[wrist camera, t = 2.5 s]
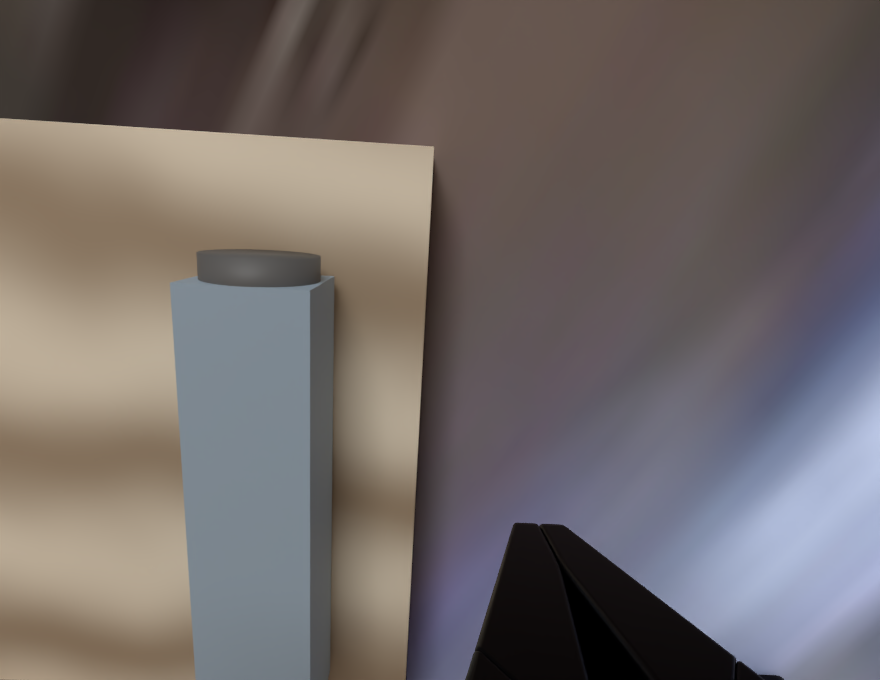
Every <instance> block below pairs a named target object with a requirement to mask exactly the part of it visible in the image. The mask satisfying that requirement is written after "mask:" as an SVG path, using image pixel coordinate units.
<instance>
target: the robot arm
mask: <svg viewBox="0 0 880 680" xmlns="http://www.w3.org/2000/svg"><path fill="white" fill-rule="evenodd" d="M465 680H784V679H783V678H782V677H780V676H776V675H758V674H757V673H755V672H754V671H753V670H751V669H750V668H749V667H747V666H746V665H745V664H744V663H742V662H740V661H738V662H737V663H736V658H735V657H734V656H733V655H732V654H730V653H729V652H728V651H726V650H725V649H724V648H723V647H721V646H720V645H719V644H717V643H716V642H715V641H713V640H712V639H711V638H710V637H708V636H707V635H706V634H704V633H703V632H702V631H700V630H699V629H698V628H697V627H695V626H694V625H693V624H691V623H690V622H689V621H688V620H686V619H685V618H684V617H682V616H681V615H680V614H678V613H677V612H676V611H675V610H673V609H672V608H671V607H669V606H668V605H667V604H665V603H664V602H663V601H662V600H660V599H659V598H658V597H656V596H655V595H654V594H652V593H651V592H650V591H649V590H647V589H646V588H645V587H643V586H642V585H641V584H640V583H638V582H637V581H636V580H634V579H633V578H632V577H630V576H629V575H628V574H627V573H625V572H624V571H623V570H621V569H620V568H619V567H617V566H616V565H615V564H614V563H612V562H611V561H610V560H608V559H607V558H606V557H604V556H603V555H602V554H601V553H599V552H598V551H597V550H595V549H594V548H593V547H592V546H590V545H589V544H588V543H586V542H585V541H584V540H582V539H581V538H580V537H579V536H577V535H576V534H575V533H573V532H572V531H571V530H569V529H568V528H567V527H565V526H564V525H557V524H541V525H540V526H538V525H537V524H534V523H515V524H514V525H513V528H512V531H511V534H510V537H509V541H508V544H507V547H506V550H505V554H504V557H503V560H502V563H501V567H500V570H499V573H498V577H497V580H496V583H495V586H494V590H493V593H492V596H491V599H490V603H489V606H488V609H487V612H486V616H485V619H484V622H483V626H482V629H481V632H480V635H479V639H478V642H477V645H476V648H475V652H474V654H473V657H472V660H471V664H470V667H469V670H468V673H467V676H466V679H465Z"/></svg>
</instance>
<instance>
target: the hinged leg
mask: <svg viewBox="0 0 880 680" xmlns="http://www.w3.org/2000/svg"><path fill="white" fill-rule="evenodd" d="M196 255H197V275H198V276H195V277H191V278H187V279H183V280H178V281H174V282H170V293H171V308H172V323H173V339H174V354H175V370H176V385H177V401H178V416H179V431H180V447H181V462H182V478H183V493H184V509H185V524H186V539H187V555H188V570H189V586H190V601H191V617H192V632H193V647H194V663H195V678H196V680H328V677H329V673H330V633H331V542H332V451H333V360H334V276H322V275H321V256H319V255H316V254H311V253H303V252H293V251H279V250H256V249H217V250H203V251H198V252H196Z"/></svg>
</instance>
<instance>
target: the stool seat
mask: <svg viewBox="0 0 880 680" xmlns="http://www.w3.org/2000/svg"><path fill="white" fill-rule="evenodd" d="M433 164H434V147H432V146H416V145H401V144H386V143H370V142H355V141H340V140H324V139H309V138H294V137H278V136H263V135H248V134H232V133H217V132H202V131H186V130H171V129H156V128H140V127H125V126H110V125H94V124H79V123H64V122H48V121H33V120H18V119H2V118H0V679H3V680H196V678H195V663H194V647H193V632H192V617H191V601H190V586H189V570H188V555H187V539H186V524H185V509H184V493H183V478H182V462H181V447H180V431H179V416H178V401H177V385H176V370H175V354H174V339H173V323H172V308H171V293H170V282H174V281H178V280H183V279H187V278H191V277H195V276H198V275H197V255H196V252H198V251H203V250H217V249H256V250H279V251H293V252H303V253H311V254H316V255H319V256H321V275H322V276H334V360H333V451H332V542H331V633H330V673H329V677H328V680H406V666H407V647H408V629H409V610H410V592H411V573H412V554H413V536H414V517H415V499H416V480H417V461H418V443H419V424H420V405H421V387H422V368H423V350H424V331H425V312H426V294H427V275H428V257H429V238H430V219H431V201H432V182H433Z"/></svg>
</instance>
